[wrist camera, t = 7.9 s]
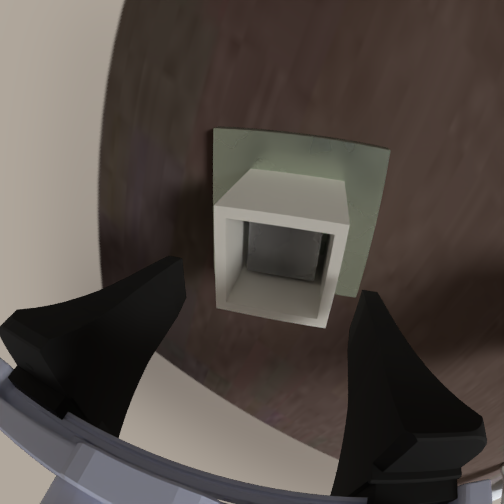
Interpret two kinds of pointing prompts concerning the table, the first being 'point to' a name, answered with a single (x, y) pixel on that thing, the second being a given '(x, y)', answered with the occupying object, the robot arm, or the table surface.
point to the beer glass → (503, 472)
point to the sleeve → (287, 215)
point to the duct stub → (311, 164)
